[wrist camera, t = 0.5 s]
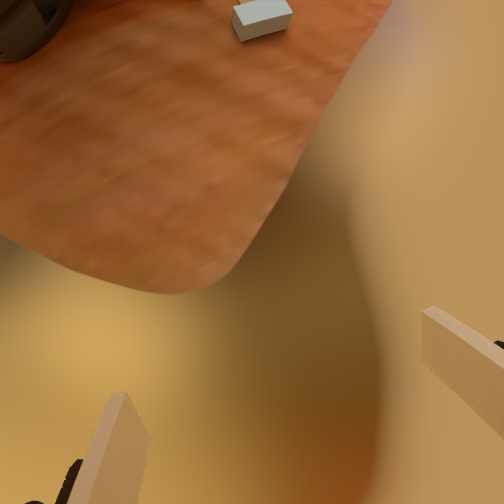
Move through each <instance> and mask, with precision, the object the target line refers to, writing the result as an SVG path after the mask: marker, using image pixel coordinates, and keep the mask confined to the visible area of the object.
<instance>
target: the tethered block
mask: <svg viewBox="0 0 504 504" xmlns="http://www.w3.org/2000/svg"><path fill="white" fill-rule="evenodd" d="M238 2H239V4H240V5H237V6H234V7H233V14H232V26H233V28H234V30H235V31H236V33H237V35H238V37H239V39H240V41H241V42H242V41H246V40H249V39H252V38H255V37H259V36H262V35H266V34H269V33H273V32H276V31H280V30H284V29H286V27H287V25H288V22H289V20H290V18H291V16H292V14H293V12H292V10H291V9H290V7H289V5H288V4H287V2H286V0H256V1H252V0H238Z"/></svg>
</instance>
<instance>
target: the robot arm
mask: <svg viewBox="0 0 504 504" xmlns="http://www.w3.org/2000/svg"><path fill="white" fill-rule="evenodd" d="M71 3H72V0H0V61H1V62H5V63H11V62H16V61H19V60H22V59H24V58H26V57H28V56H30V55H31V54H33V53H34V52H36V51H37V50H39V49H40V48H41V47H42V46H43V45H45V44H46V43H47V42H48V41H49V40H50V39H51V38H52V36H53V35H54V34H55V33H56V32H57V30H58V29H59V28H60V26H61V25H62V23H63V22H64V20H65V18H66V17H67V15H68V12H69V10H70V7H71ZM421 315H422V316H421V317H422V360H421V361H422V362H423V363H424V364H425V365H426V366H427V367H428V368H429V369H430V370H431V371H432V372H434V373H435V374H436V375H437V376H438V377H439V378H440V379H441V380H442V381H443V382H444V383H445V384H446V385H447V386H449V388H451V389H452V390H453V391H454V392H455V393H456V394H457V395H458V396H459V397H460V398H461V399H462V400H463V401H464V402H465V403H466V404H467V405H468V406H469V407H470V408H471V409H472V410H474V411H475V412H476V413H477V414H478V415H479V416H480V417H481V418H482V419H483V420H484V421H485V422H486V423H487V424H488V425H489V426H490V427H491V428H492V429H493V430H494V431H495V432H496V433H497V434H498V435H499V436H500V437H501V438H502V439H503V440H504V342H501V341H498V340H497V341H496V342H494V343H493V342H491V341H490V340H488V339H487V338H485V337H484V336H482V335H481V334H479V333H477V332H476V331H474V330H473V329H471V328H470V327H468V326H466V325H465V324H463V323H462V322H460V321H459V320H457V319H455V318H453V317H452V316H450V315H449V314H447V313H446V312H444V311H442V310H441V309H439V308H438V307H436V306H432V307H430V308H428V309H425V310H423V311H422V312H421ZM150 440H151V435H150V434H149V432H148V430H147V429H146V427H145V425H144V423H143V421H142V420H141V418H140V416H139V414H138V412H137V411H136V409H135V407H134V405H133V404H132V401H131V399H130V398H129V396H128V394H127V392H121V393H115V394H111V396H110V398H109V401H108V403H107V405H106V407H105V409H104V412H103V414H102V416H101V419H100V421H99V424H98V426H97V428H96V431H95V433H94V436H93V438H92V440H91V443H90V445H89V448H88V450H87V452H86V455H85V457H84V459H77V460H76V461H75V463H74V464H73V465H72V466H71V467H70V468H69V471H68V473H67V475H66V480H64V482H63V485H62V486H63V488H61V490H60V493H59V495H58V498H57V500H56V503H55V504H138V501H139V496H140V491H141V485H142V480H143V475H144V470H145V464H146V459H147V454H148V449H149V445H150ZM25 504H43V503H41V502H39V501H30V502H27V503H25Z"/></svg>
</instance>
